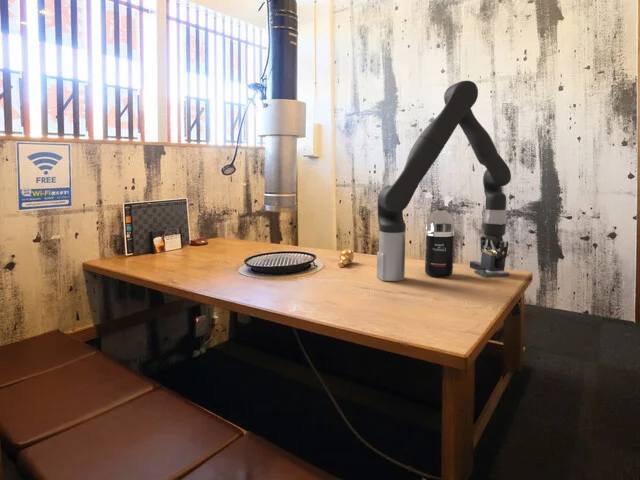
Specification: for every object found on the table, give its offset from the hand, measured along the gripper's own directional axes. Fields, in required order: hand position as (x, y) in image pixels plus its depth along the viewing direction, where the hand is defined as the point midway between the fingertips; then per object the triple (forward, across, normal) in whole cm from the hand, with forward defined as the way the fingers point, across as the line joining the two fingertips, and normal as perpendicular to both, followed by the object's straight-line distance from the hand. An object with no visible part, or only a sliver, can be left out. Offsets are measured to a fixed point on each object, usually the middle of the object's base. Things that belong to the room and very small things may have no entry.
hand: (492, 266), depth 165 cm
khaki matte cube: (+1, 0, 0) cm, 1 cm away
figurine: (+3, -30, -48) cm, 57 cm away
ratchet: (+3, -5, 0) cm, 6 cm away
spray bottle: (+3, -4, -20) cm, 20 cm away
